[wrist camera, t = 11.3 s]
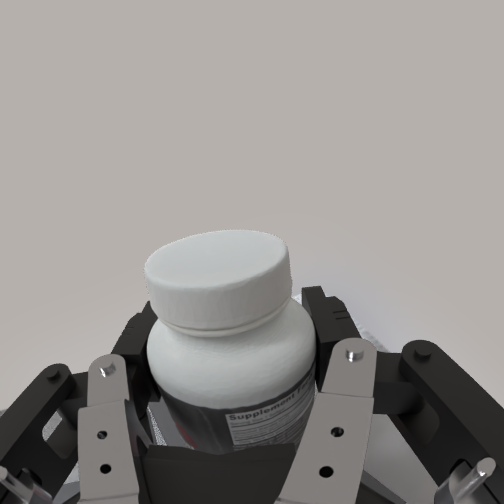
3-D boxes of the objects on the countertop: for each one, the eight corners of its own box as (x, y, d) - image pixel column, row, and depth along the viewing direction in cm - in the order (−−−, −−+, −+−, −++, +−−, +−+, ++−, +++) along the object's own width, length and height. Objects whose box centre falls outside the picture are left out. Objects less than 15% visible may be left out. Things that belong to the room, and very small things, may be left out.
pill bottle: (175, 437, 13) (105, 252, 9) (264, 392, 15) (244, 213, 12) (233, 518, 8) (151, 334, 5) (335, 452, 11) (359, 246, 7)
